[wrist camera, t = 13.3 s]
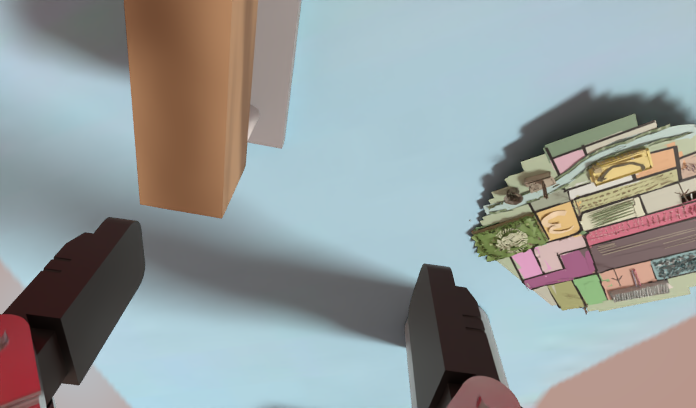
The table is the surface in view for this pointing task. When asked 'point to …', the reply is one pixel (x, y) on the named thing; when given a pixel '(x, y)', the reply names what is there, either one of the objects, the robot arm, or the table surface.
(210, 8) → the brown wooden block
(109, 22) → the table surface
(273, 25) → the peg rack
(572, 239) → the city model
